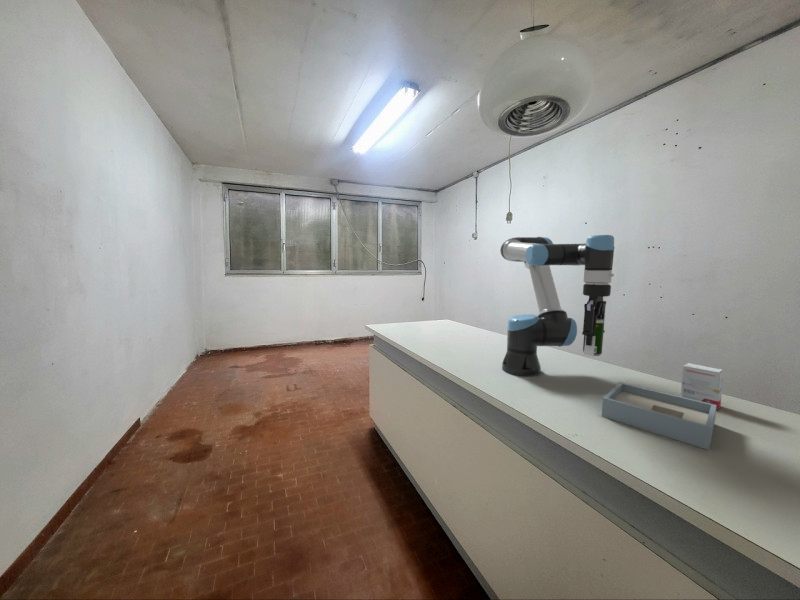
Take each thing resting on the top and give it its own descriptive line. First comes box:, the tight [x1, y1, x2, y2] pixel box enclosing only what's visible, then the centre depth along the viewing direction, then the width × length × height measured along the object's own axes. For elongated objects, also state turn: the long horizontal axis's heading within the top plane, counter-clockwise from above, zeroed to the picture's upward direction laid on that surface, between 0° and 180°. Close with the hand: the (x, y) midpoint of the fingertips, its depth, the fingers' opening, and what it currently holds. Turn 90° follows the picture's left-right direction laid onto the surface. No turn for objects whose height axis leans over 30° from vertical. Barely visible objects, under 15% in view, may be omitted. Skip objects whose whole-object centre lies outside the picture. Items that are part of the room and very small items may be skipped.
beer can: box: [582, 318, 605, 357], centre depth 99 cm, size 5×5×12 cm
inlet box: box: [601, 381, 717, 451], centre depth 85 cm, size 22×18×6 cm
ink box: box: [680, 362, 724, 410], centre depth 95 cm, size 9×5×12 cm, turn 33°
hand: (592, 352), depth 100 cm, fingers closed on beer can, 5 cm apart
